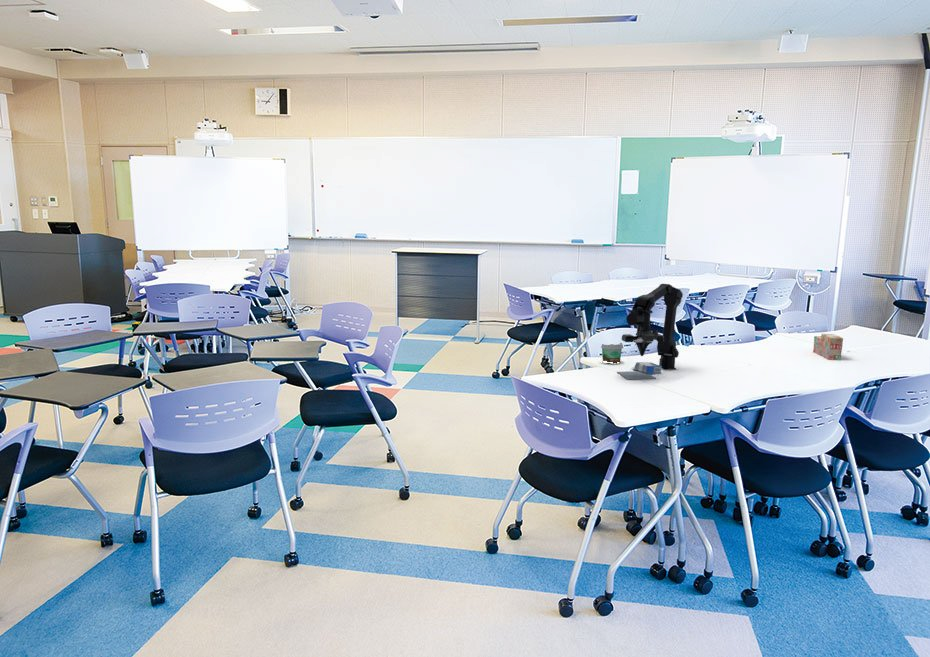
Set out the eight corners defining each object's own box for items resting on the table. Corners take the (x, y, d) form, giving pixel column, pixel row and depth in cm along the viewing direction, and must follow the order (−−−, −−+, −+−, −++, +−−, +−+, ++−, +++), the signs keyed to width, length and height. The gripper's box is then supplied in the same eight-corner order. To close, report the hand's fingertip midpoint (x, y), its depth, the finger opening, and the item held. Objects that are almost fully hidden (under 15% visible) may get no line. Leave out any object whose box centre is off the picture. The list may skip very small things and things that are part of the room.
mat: (644, 372, 313) (644, 371, 313) (656, 379, 299) (656, 378, 299) (616, 372, 311) (616, 371, 311) (627, 379, 298) (627, 378, 298)
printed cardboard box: (812, 352, 363) (814, 330, 361) (824, 352, 362) (826, 330, 360) (828, 360, 342) (830, 337, 340) (841, 360, 341) (843, 337, 339)
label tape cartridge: (647, 365, 306) (631, 360, 318) (645, 373, 307) (630, 367, 318) (662, 365, 310) (645, 360, 321) (660, 373, 311) (644, 368, 322)
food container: (607, 365, 326) (608, 346, 325) (600, 363, 332) (601, 344, 330) (627, 363, 331) (628, 344, 329) (620, 361, 337) (621, 342, 335)
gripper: (630, 326, 292) (628, 360, 295) (670, 325, 294) (668, 359, 297) (622, 322, 303) (620, 354, 306) (660, 322, 305) (658, 354, 308)
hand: (641, 355), depth 304 cm, fingers closed
